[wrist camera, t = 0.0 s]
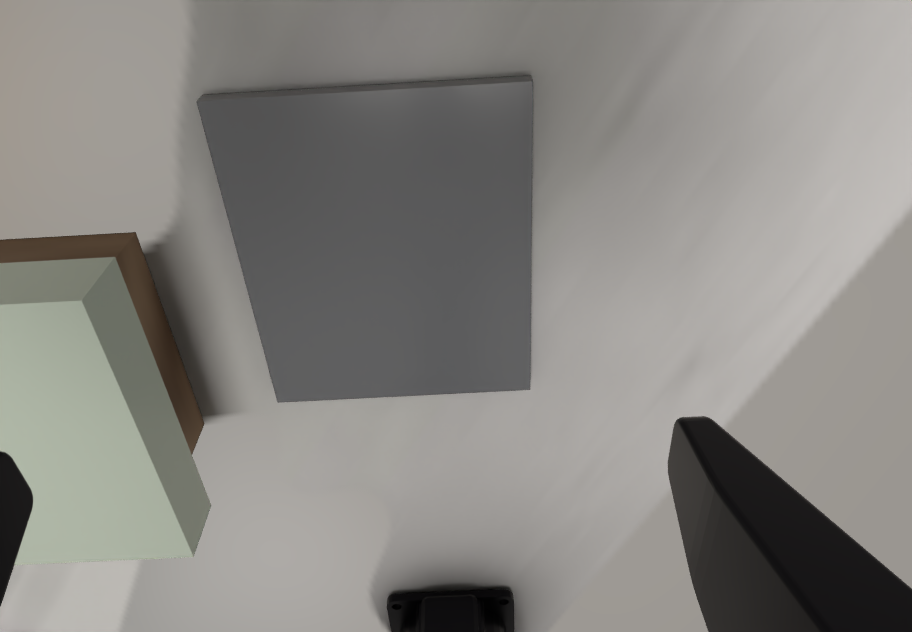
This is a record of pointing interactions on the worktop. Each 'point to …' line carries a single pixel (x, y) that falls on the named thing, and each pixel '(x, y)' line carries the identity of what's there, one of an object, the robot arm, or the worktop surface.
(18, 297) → the lid
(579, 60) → the worktop surface
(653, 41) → the worktop surface
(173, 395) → the tea box
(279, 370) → the grey rectangular plate
